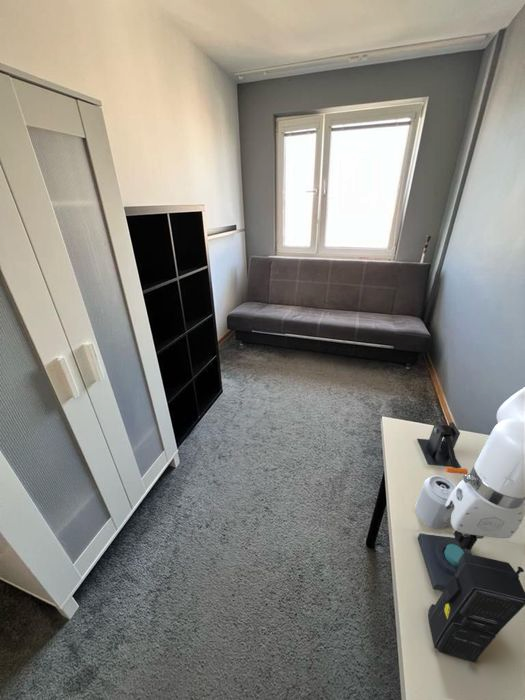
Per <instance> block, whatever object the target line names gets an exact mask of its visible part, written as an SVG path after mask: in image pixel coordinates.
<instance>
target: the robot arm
mask: <svg viewBox="0 0 525 700" xmlns="http://www.w3.org/2000/svg"><path fill="white" fill-rule="evenodd" d="M496 421H497V424H496V425H495V426H494V427H493V429H492V430H491V432H490V434H489V436H488V438H487V440H486V442H485V444H484V445H483V448H482V449H481V451H480V453H479V455H478V457H477V459H476V460H475V463H474V465H473V467H472V468H471V471H470V473H469V474H468V473H467V474H462V480H460V482H458V484H457V485H456V487H455V489H454V490H453V491H452V493H451V495H450V496H449V498H448V500H447V502H446V504H445V509H446V510H448V511H447V512H446V513H445V514H444V515H443V516H442V519H443V521H444V523H445V524H447V526H450V527H452V529H453V530H454V533H453V536H454V538H455V539H456V541H458V543H459V545H460V547H461V549H465V548H466V549H468V550H471V551H472V548H473V547H474V545H475V544H476V542H477V541H478V539H479V540H481V539H484V538H495V539H511V538H512V537H513V536H514V535H515V534H516V532H517V530H518V529H519V527H520V525H521V524H522V523H523V520H524V517H525V386H524V387H523V388H521V389H520V390H518V391H516V392H515V393H514V394H512V395H511V396H510V397H508V398H507V399H506V400H505V401H504V402H503V403H502V404H500V406H499V408H498V409H497V411H496Z"/></svg>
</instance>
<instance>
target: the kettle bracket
mask: <svg viewBox="0 0 525 700" xmlns="http://www.w3.org/2000/svg"><path fill="white" fill-rule="evenodd" d="M448 426H451V430H452V433H453V435H452V436H451V437H450V438H451V442H452V446H453V449H455V446H456V444H457V441H458V439H459V437H460V435H461V432H460V431H459V429H458V428H457V426H456V423H455V422H452V421H451V422H449V424H448ZM444 434H445V431H444V429H443V427H442V424H441V422H440V421H439V420H436V421H435V422H434V425H433V427H432V430H431V432H430V436H429V438H428V439H427V438H416V440H417V443H418V445H419V447H420V450H421V452H422V455H423V457H424V459H425V461H426V463H427V465H429V466H437V467H438V466H439V467H452V463H451V460H450V456H449V452H448V448H447V444H446V440H445V437H443V436H444ZM456 460H457V464H458V468H462V467H461V465H460V463H459V461H458V459H457V458H456Z"/></svg>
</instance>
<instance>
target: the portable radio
mask: <svg viewBox="0 0 525 700" xmlns="http://www.w3.org/2000/svg"><path fill="white" fill-rule="evenodd" d="M524 572H525V570H524V569H523V567H521V566H517V570H515V569H514V568H513V566H512V565H511V564H510V563H509V562H507V561H504V560H498V559H494V558H489V557H485V556H479V555H475V554H472V555H471V554H467V553H463V554H462V556H461V558H460V559H459V561H458V570H457V572H456V573H455V575H454V576H453V578H452V579H451V581H450V582H449V583H448V584H447V586H446V587H445V588H444V589H443V590H441V591H442V593H441V595H440V596H439V598H438V599H437V601H436V603H431V604H430V606H429V608H428V612H427V619H428V625H429V629H430V634H431V635H430V636H431V639H432V644H433V647H434V648H435V649H437V651H438V652H439V653H442V654H445V655H448V656H452V657H455V658H458V659H461V660H465V661H469V662H472V663H476V662H477V660H478V659H479V657H480V656H481V655H482V654H483V652H484V651H485V650H486V649H487V648H488V647H489V646H490V645H491V643H492V642H493V641H494V639H495V638H496V636H497V635H498V634H499V633H500V631H501V630H502V629H504V627H505V626H507V624H508V623H509V622H510V621H511V620H512V619H513V618H514V617H515V616H516V615H517V614H518V613H519V612H520V611H521V610H522V609H523V608H524V607H525V589H524V587H523V585H522V582H521V580H520V576H519V575H520V573H524Z"/></svg>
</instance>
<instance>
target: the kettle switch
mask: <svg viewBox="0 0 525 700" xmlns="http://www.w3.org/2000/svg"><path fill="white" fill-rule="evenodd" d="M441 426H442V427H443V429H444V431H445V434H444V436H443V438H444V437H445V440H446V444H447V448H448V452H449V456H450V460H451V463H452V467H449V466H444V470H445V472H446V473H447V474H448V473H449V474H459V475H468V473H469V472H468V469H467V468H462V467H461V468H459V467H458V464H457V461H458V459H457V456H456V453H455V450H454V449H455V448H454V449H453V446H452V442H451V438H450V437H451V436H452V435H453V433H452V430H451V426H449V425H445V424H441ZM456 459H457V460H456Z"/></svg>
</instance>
